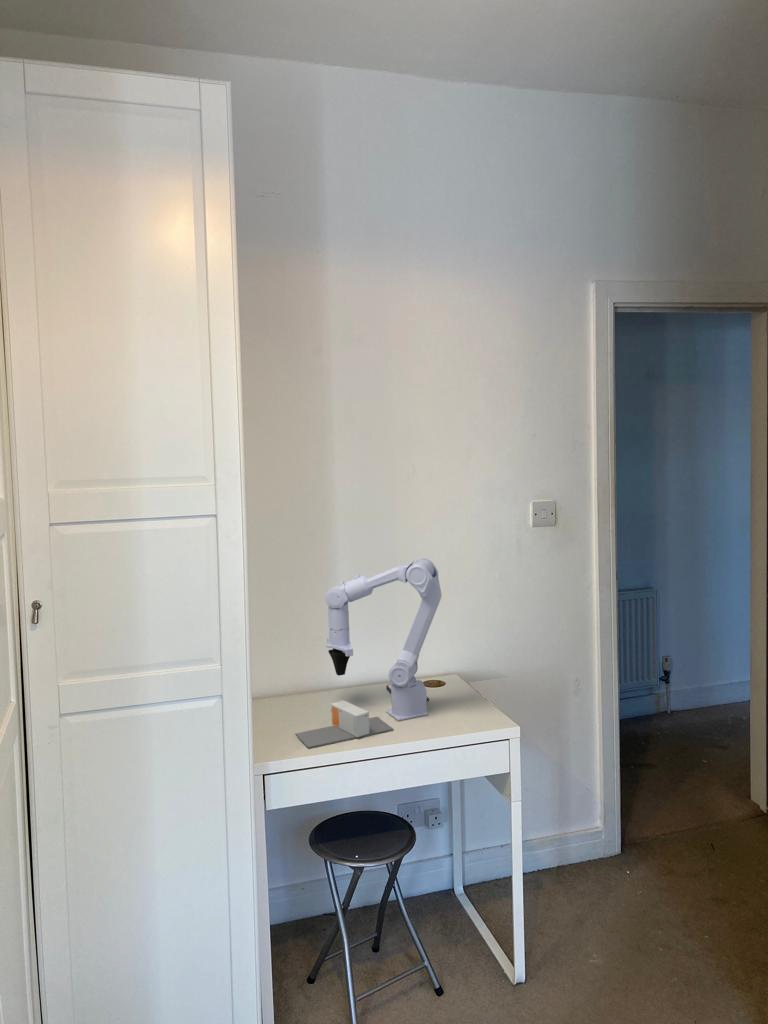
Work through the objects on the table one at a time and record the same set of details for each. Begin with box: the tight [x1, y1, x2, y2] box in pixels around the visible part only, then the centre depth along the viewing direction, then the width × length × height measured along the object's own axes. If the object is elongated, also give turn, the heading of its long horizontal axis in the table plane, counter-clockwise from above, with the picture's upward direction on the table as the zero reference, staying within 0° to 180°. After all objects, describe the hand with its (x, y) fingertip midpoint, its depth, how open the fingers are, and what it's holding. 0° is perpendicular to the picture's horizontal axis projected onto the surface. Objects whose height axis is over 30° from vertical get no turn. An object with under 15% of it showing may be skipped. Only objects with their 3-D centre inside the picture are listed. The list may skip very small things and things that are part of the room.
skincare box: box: [330, 699, 370, 737], centre depth 207 cm, size 6×4×12 cm
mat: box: [294, 716, 394, 750], centre depth 206 cm, size 24×10×1 cm, turn 116°
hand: (340, 674), depth 221 cm, fingers closed
